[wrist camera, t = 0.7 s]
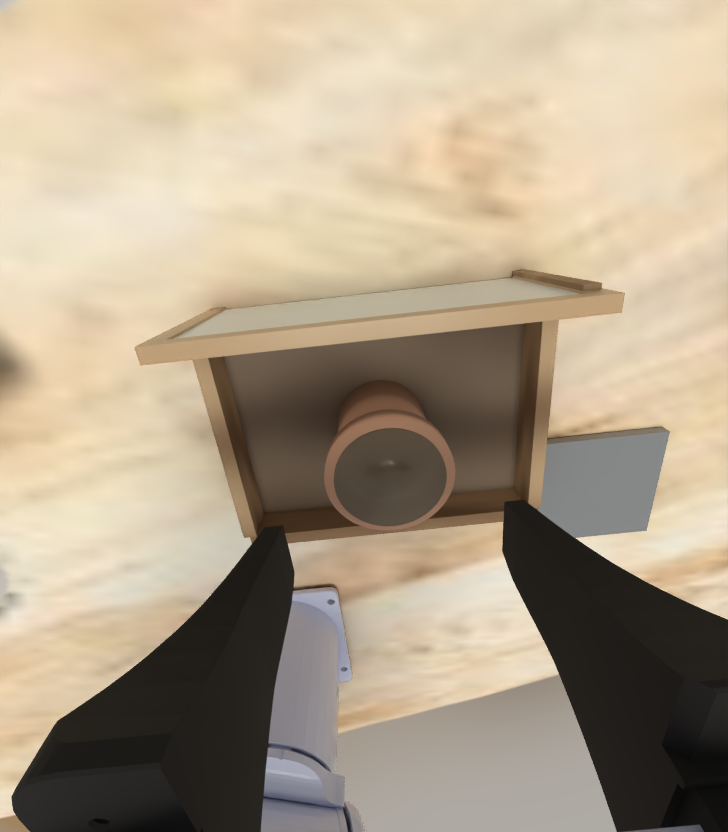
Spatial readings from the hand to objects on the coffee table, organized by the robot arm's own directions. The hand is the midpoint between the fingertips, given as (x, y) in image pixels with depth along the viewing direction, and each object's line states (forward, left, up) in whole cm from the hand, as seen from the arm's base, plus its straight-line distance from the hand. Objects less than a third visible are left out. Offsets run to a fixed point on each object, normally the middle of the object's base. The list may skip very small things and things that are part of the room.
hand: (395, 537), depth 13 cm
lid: (+6, 0, -10) cm, 12 cm away
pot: (0, 0, -9) cm, 9 cm away
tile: (-6, -13, -10) cm, 17 cm away
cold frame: (0, 0, -10) cm, 10 cm away
